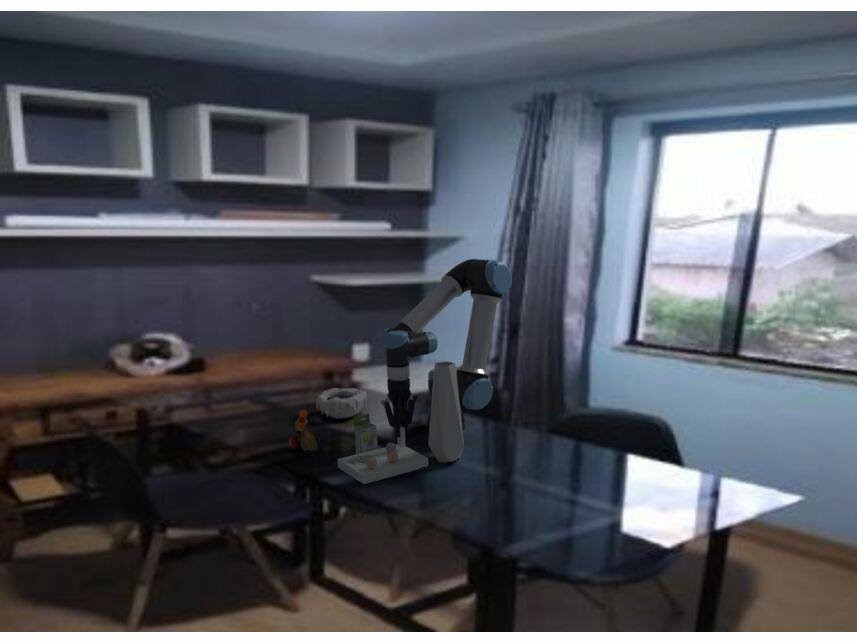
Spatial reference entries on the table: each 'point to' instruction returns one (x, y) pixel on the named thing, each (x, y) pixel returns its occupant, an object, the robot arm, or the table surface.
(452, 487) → the table surface
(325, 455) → the table surface
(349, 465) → the white tray
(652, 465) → the table surface
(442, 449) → the vase
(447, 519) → the table surface
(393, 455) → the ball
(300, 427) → the toy helicopter
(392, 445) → the steel ball
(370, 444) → the ink box
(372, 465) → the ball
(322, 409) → the bowl
